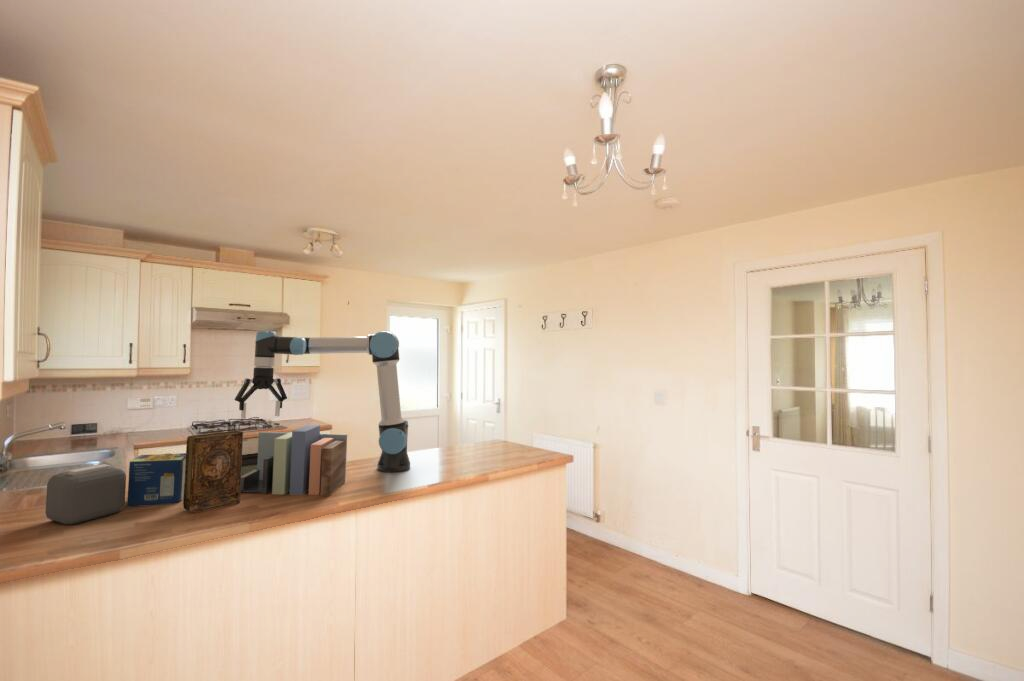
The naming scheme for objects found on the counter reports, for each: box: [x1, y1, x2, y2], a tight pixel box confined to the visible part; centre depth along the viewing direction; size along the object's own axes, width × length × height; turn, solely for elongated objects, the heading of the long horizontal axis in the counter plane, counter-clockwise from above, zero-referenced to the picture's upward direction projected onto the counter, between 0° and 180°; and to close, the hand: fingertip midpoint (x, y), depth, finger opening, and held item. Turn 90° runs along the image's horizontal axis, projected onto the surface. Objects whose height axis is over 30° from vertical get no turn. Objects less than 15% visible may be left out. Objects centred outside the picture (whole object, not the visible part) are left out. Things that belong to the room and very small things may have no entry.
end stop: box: [319, 440, 346, 497], centre depth 186 cm, size 4×17×18 cm, turn 2°
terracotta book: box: [308, 438, 334, 496], centre depth 185 cm, size 4×14×19 cm, turn 2°
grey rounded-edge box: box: [45, 463, 127, 525], centre depth 149 cm, size 16×11×16 cm
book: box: [182, 430, 244, 514], centre depth 162 cm, size 16×6×25 cm, turn 143°
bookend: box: [240, 455, 274, 495], centre depth 184 cm, size 12×16×13 cm
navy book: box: [289, 424, 321, 496], centre depth 185 cm, size 5×15×24 cm, turn 2°
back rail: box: [256, 431, 348, 484], centre depth 194 cm, size 36×1×20 cm, turn 92°
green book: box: [271, 431, 292, 495], centre depth 185 cm, size 4×15×21 cm, turn 2°
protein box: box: [126, 452, 186, 507], centre depth 166 cm, size 10×15×16 cm
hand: (260, 417), depth 197 cm, fingers open, 13 cm apart
